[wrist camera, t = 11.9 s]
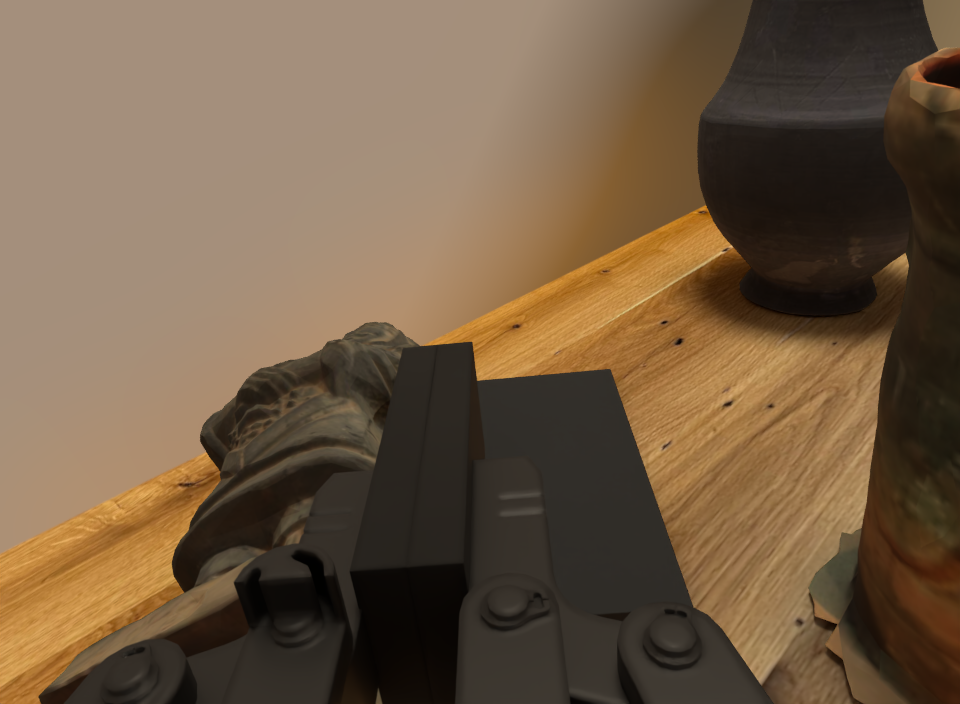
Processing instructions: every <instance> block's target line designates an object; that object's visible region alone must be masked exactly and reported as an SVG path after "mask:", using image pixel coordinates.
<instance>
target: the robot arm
mask: <svg viewBox="0 0 960 704" xmlns="http://www.w3.org/2000/svg"><path fill="white" fill-rule="evenodd" d="M303 531H304V533H303V534H302V535H301V538H300V541H299V544H298V543H295V544H290V545H285V546H280V547H276V548H274V549H272V550H270V551H268V552H265V553H263V554H261V555H259V556H258V557H256V558H255V559H254V560H253V561H251V562H250V563H249V564H248V565H246V566H245V567H244V568H243V569H242V571H241V572H240V573H239V575H238V576H237V578H236V579H235V581H234V582H233V583H234V586H235V589H236V591H237V594H238V597H239V600H240V603H241V606H242V609H243V611H244V614H245V617H246V620H247V623H248V626H249V630H248V633H247V634H246V635H245V636H243V637H241V638H239V639H237V640H235V641H232V642H230V643H228V644H225V645H222V646H219V647H216V648H213V649H211V650H208V651H205V652H202V653H199V654H196V655H193V656H190V657H187V658H186V656H185V654H184V653H183V651H182V650H181V648H180V647H179V645H178V644H176V643H173V642H171V641H168V640H166V639H146V640H143V641H140V642H137V643H134V644H131V645H128V646H125V647H124V648H122V649H120V650H119V651H117V652H115V653H113V654H112V655H110V656H108V657H107V658H105V659H104V660H103V661H102V662H101V663H100V664H99V665H98V666H97V667H96V668H95V669H94V670H93V671H91V672H90V673H89V674H88V676H87V677H86V678H85V679H84V680H83V682H82V683H81V684H80V685H79V686H78V687H77V689H76V690H75V691H74V692H73V693H72V695H71V696H70V697H69V698H68V699H67V700H66V702H65V703H64V704H376V699H377V692H378V688H379V692H380V696H381V700H382V704H774V703H773V702H772V701H771V699H770V698H769V696H768V695H767V693H766V692H765V690H764V689H763V688H762V686H761V685H760V683H759V682H758V680H757V679H756V677H755V676H754V675H753V673H752V672H751V670H750V669H749V667H748V666H747V664H746V663H745V662H744V660H743V659H742V657H741V656H740V654H739V653H738V652H737V650H736V649H735V647H734V646H733V644H732V643H731V641H730V640H729V639H728V637H727V636H726V634H725V633H724V631H723V630H722V629H721V628H720V627H719V626H718V625H717V624H716V623H715V622H714V621H713V620H712V619H711V618H710V617H709V616H708V615H707V614H705V613H703V612H701V611H699V610H697V609H695V608H693V607H691V606H690V605H685V604H680V603H675V602H670V601H665V602H655V603H648V604H646V605H644V606H641V607H639V608H637V609H635V610H633V611H631V613H630V614H629V615H628V616H627V617H626V618H625V619H624V621H619V620H614V619H609V618H604V617H600V616H597V615H594V614H590V613H587V612H585V611H583V610H581V609H580V608H578V607H576V606H574V605H573V604H572V603H571V602H570V601H568V600H567V599H566V598H565V597H564V596H563V594H562V593H561V591H560V590H559V588H558V587H557V584H556V580H555V577H554V570H553V562H552V553H551V545H550V536H549V528H548V520H547V512H546V503H545V495H544V486H543V477H542V472H541V471H540V469H539V468H538V467H537V466H536V464H535V463H534V462H533V461H532V460H531V458H530V457H529V456H517V457H505V458H492V459H485V444H484V435H483V427H482V419H481V411H480V402H479V394H478V386H477V377H476V369H475V361H474V352H473V344H472V342H464V343H453V344H442V345H431V346H419V347H408V348H403V349H402V354H401V358H400V362H399V366H398V370H397V375H396V379H395V383H394V387H393V391H392V395H391V400H390V404H389V408H388V412H387V416H386V421H385V425H384V429H383V433H382V437H381V442H380V446H379V450H378V454H377V458H376V462H375V467H374V470H367V471H355V472H342V473H334V474H333V475H332V476H331V477H330V478H329V479H328V480H327V481H326V482H325V483H324V484H323V485H322V487H321V488H320V489H319V490H318V491H317V492H316V495H315V498H314V500H313V503H312V506H311V509H310V512H309V517H308V518H307V521H306V524H305V527H304V529H303Z"/></svg>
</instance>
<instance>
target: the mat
mask: <svg viewBox="0 0 960 704" xmlns="http://www.w3.org/2000/svg"><path fill="white" fill-rule="evenodd" d="M477 386H478V394H479V402H480V411H481V419H482V427H483V435H484V444H485V459H492V458H505V457H517V456H529V457H530V458H531V460H532V461H533V462H534V463H535V464H536V466H537V467H538V468H539V469H540V471H541V472H542V477H543V486H544V495H545V503H546V512H547V520H548V528H549V536H550V545H551V553H552V562H553V570H554V577H555V580H556V584H557V587H558V588H559V590H560V591H561V593H562V594H563V596H564V597H565V598H566V599H567V600H568V601H570V602H571V603H572V604H573V605H574V606H576V607H578V608H580V609H581V610H583V611H585V612H587V613H590V614H594V615H597V616H600V617H604V618H609V619H614V620H619V621H624V619H625V618H626V617H627V616H628V615H629V614H630V613H631V611H633V610H635V609H637V608H639V607H641V606H644V605H646V604H648V603H655V602H665V601H670V602H675V603H680V604H685V605H690V606H691V607H693V605H692V602H691V599H690V596H689V593H688V590H687V588H686V585H685V582H684V579H683V576H682V573H681V570H680V567H679V565H678V562H677V559H676V556H675V553H674V550H673V547H672V545H671V542H670V539H669V536H668V533H667V530H666V527H665V525H664V522H663V519H662V516H661V513H660V510H659V507H658V504H657V502H656V499H655V496H654V493H653V490H652V487H651V484H650V482H649V479H648V476H647V473H646V470H645V467H644V464H643V461H642V459H641V456H640V453H639V450H638V447H637V444H636V441H635V439H634V436H633V433H632V430H631V427H630V424H629V421H628V419H627V416H626V413H625V410H624V407H623V404H622V401H621V398H620V396H619V393H618V390H617V387H616V384H615V381H614V378H613V376H612V373H611V370H610V369H605V370H594V371H582V372H571V373H560V374H549V375H538V376H526V377H515V378H504V379H493V380H482V381H477Z"/></svg>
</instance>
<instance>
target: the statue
mask: <svg viewBox="0 0 960 704" xmlns="http://www.w3.org/2000/svg"><path fill="white" fill-rule="evenodd" d="M408 347H419V345H418V344H417V343H415V342H414V341H413V340H411V339H410V338H408V337H406V336H405V335H404V334H403V333H402V332H401V331H400V330H397V329H396V328H395V327H394V326H393V325H391V324H388V323H378V322H372V323H365V324H364V325H362V326H361V327H359V328H357V329H356V330H354V331H351V332H349V333H347V334H346V335H345V336H344V338H343V339H342V340H341V339H338V340H333V341H329V342H327V343H326V345H325V346H324V347H323V349H322V350H320V351H318V352H316V353H314V354H312V355H310V356H308V357H304V358H301V359H298V360H288V361H285V362H283V363H279V364H276V365H274V366H272V367H266V368H261V369H259V370H258V371H256V372H255V373H253V374H252V375H251V376H250V377H249V378H248V379H246V381H245V382H244V384H243V385H242V387H241V388H240V390H239V391H238V393H237V396H236V397H235V398H233V399H232V400H231V401H230V402H229V403H228V404H227V405H225V406H224V408H223V409H222V410H220V411H218V412H216V413H214V414H213V415H212V416H211V417H210V418H209V419H208V420H207V421H206V422H205V423H204V425H203V427H202V431H201V434H200V442H201V443H202V445H203V447H204V448H205V450H206V452H207V454H208V455H209V457H210V458H211V459H212V461H213V462H214V463H215V464H216V466H217V467H218V469H219V470H220V471H221V472H220V478H221V481H220V482H219V484H218V485H217V486H216V488H215V489H214V490H213V492H212V493H211V494H210V495H209V496H208V497H207V498H206V500H205V501H204V502H203V503H202V504H201V505H200V506H199V508H198V510H197V511H196V513H195V515H194V517H193V518H192V520H191V522H190V527H189V531H188V532H187V533H186V534H185V535H184V537H183V538H182V539H181V540H180V542H179V544H178V545H177V547H176V549H175V552H174V556H173V560H172V568H173V574H174V577H175V579H176V580H177V582H178V583H179V585H180V587H181V588H182V590H183V591H184V593H183V594H181V595H180V596H178V597H176V598H174V599H172V600H171V601H169V602H167V603H166V604H164V605H163V606H161V607H159V608H158V609H156V610H155V611H153V612H151V613H150V614H148V615H147V616H145V617H144V618H142V619H140V620H138V621H136V622H133V623H131V624H129V625H127V626H125V627H123V628H121V629H119V630H117V631H115V632H114V633H112V634H110V635H108V636H106V637H105V638H103V639H101V640H99V641H98V642H96V643H94V644H93V645H91V646H89V647H88V648H87V649H85V650H84V651H82V652H81V653H80V654H78V655H77V656H76V657H75V659H74V660H73V661H72V662H71V664H70V665H69V666H68V667H67V668H66V670H65V671H64V672H63V673H62V674H61V675H60V676H59V677H58V678H57V679H56V680H55V681H54V682H53V683H52V684H51V685H50V686H48V687H47V688H46V689H45V690H44V691H43V692H42V693H41V694H40V695H39V699H40V702H41V704H64V703H65V702H66V700H67V699H68V698H69V697H70V696H71V695H72V693H73V692H74V691H75V690H76V689H77V687H78V686H79V685H80V684H81V683H82V682H83V680H84V679H85V678H86V677H87V676H88V674H89V673H90V672H91V671H93V670H94V669H95V668H96V667H97V666H98V665H99V664H100V663H101V662H102V661H103V660H104V659H105V658H107V657H108V656H110V655H112V654H113V653H115V652H117V651H119V650H120V649H122V648H124V647H125V646H128V645H131V644H134V643H137V642H140V641H143V640H146V639H166V640H168V641H171V642H173V643H176V644H178V645H179V647H180V648H181V650H182V651H183V653H184V654H185V656H186V658H187V657H190V656H193V655H196V654H199V653H202V652H205V651H208V650H211V649H213V648H216V647H219V646H222V645H225V644H228V643H230V642H232V641H235V640H237V639H239V638H241V637H243V636H245V635H246V634H247V633H248V630H249V626H248V623H247V620H246V617H245V614H244V611H243V609H242V606H241V603H240V600H239V597H238V594H237V591H236V589H235V586H234V583H233V582H234V581H235V579H236V578H237V576H238V575H239V573H240V572H241V571H242V569H243V568H244V567H245V566H246V565H248V564H249V563H250V562H251V561H253V560H254V559H255V558H256V557H258V556H259V555H261V554H263V553H265V552H268V551H270V550H272V549H274V548H276V547H280V546H285V545H290V544H295V543H298V544H299V541H300V538H301V535H302V534H303V533H304V531H303V529H304V527H305V524H306V521H307V518H308V517H309V512H310V509H311V506H312V503H313V500H314V498H315V495H316V492H317V491H318V490H319V489H320V488H321V487H322V485H323V484H324V483H325V482H326V481H327V480H328V479H329V478H330V477H331V476H332V475H333V474H334V473H342V472H355V471H367V470H374V467H375V462H376V458H377V454H378V450H379V446H380V442H381V437H382V433H383V429H384V425H385V421H386V416H387V412H388V408H389V404H390V400H391V395H392V391H393V387H394V383H395V379H396V375H397V370H398V366H399V362H400V358H401V354H402V349H403V348H408ZM376 704H382V700H381V696H380V692H379V688H378V692H377V699H376Z"/></svg>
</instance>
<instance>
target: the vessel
mask: <svg viewBox="0 0 960 704" xmlns="http://www.w3.org/2000/svg"><path fill="white" fill-rule="evenodd" d="M883 142H884V146H885V151H886V155H887V159H888V160H889V162H890V163H891V165H892V166H893V167H894V169H895V170H896V172H897V173H898V175H899V176H900V177H901V179H902V181H903V182H904V184H905V186H906V188H907V192H908V197H909V201H910V205H911V210H912V217H911V220H910V228H909V238H908V245H907V249H906V255H907V259H908V263H909V270H908V276H907V283H906V289H905V294H904V298H903V303H902V307H901V312H900V314H899V317H898V319H897V321H896V324H895V326H894V329H893V331H892V334H891V337H890V341H889V344H888V348H887V353H886V358H885V363H884V367H883V372H882V377H881V383H880V393H879V403H878V423H877V429H876V435H875V442H874V449H873V456H872V462H871V469H870V479H869V486H868V496H867V504H866V509H865V514H864V519H863V524H862V528H861V529H859V530H856V531H855V532H854V533H853V534H847V533H843V532H842V534H841V538H840V552H839V553H838V554H837V555H836V556H835V557H833V558H832V559H831V560H830V561H829V562H828V563H827V564H826V565H824V566H823V567H822V568H821V569H820V570H819V571H818V572H817V573H816V574H815V576H814V578H813V580H812V582H811V584H810V586H809V590H810V593H811V596H812V598H813V601H814V611H815V616H816V617H819V618H822V619H825V620H827V621H830V622H833V623H836V624H838V625H837V627H836V628H835V630H834V631H833V633H832V635H831V636H830V638H829V639H828V641H827V642H826V644H825V646H827V647H828V648H829V649H830V650H832V651H833V652H834V653H835V654H837V655H838V656H839V657H840V658H842V659H843V661H844V666H845V670H846V675H847V679H848V682H849V685H850V689H851V692H852V695H853V698H855V699H856V700H858V701H860V702H862V703H863V704H960V48H948V47H946V48H944V49H941V50H939V51H937V52H935V53H933V54H931V55H929V56H927V57H926V58H924V59H922V60H920V61H918V62H916V63H914V64H912V65H910V66H908V67H906V68H904V69H903V71H902V72H901V74H900V76H899V78H898V79H897V81H896V83H895V85H894V87H893V90H892V92H891V95H890V99H889V102H888V105H887V108H886V112H885V115H884V137H883Z"/></svg>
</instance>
